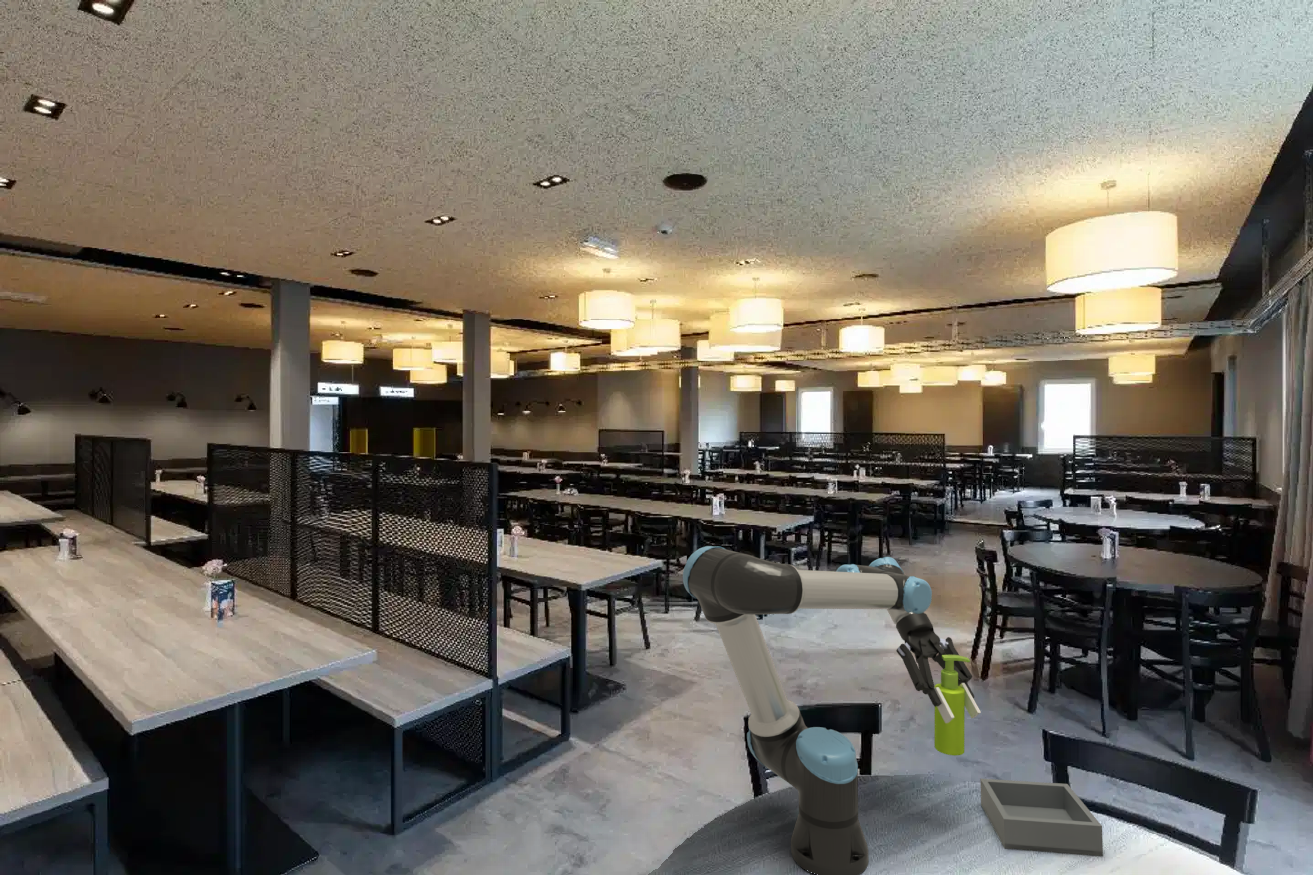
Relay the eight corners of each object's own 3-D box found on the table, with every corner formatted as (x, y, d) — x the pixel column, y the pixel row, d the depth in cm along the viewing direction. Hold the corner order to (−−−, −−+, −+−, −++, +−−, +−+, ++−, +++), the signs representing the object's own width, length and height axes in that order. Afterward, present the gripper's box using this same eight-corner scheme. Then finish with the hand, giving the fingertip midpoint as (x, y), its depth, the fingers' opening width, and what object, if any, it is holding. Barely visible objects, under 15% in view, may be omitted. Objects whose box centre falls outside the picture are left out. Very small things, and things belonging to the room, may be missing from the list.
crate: (1004, 848, 134) (1003, 818, 134) (981, 804, 150) (980, 778, 150) (1102, 856, 131) (1102, 825, 131) (1068, 810, 146) (1067, 783, 146)
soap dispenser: (973, 757, 138) (973, 661, 138) (937, 754, 139) (938, 659, 139) (965, 744, 144) (965, 652, 144) (931, 741, 145) (931, 650, 145)
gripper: (937, 622, 159) (991, 718, 143) (868, 631, 154) (916, 732, 138) (951, 606, 154) (1009, 703, 138) (881, 615, 148) (933, 717, 133)
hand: (963, 717), depth 138 cm, fingers closed on soap dispenser, 6 cm apart
